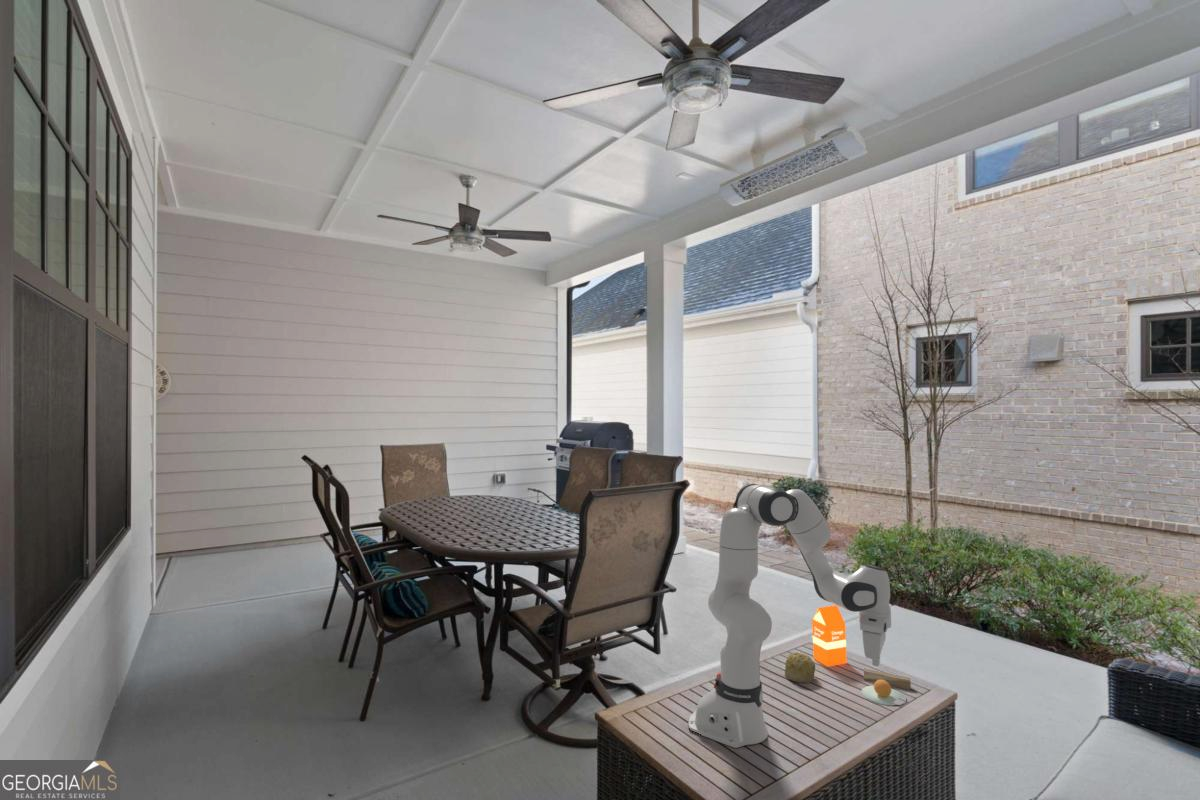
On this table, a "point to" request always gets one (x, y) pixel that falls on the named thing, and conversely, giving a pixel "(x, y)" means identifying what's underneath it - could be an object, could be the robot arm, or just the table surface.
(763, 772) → the table surface
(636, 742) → the table surface
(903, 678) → the bar
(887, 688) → the ball
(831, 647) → the orange juice
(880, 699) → the disc
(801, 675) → the rock
